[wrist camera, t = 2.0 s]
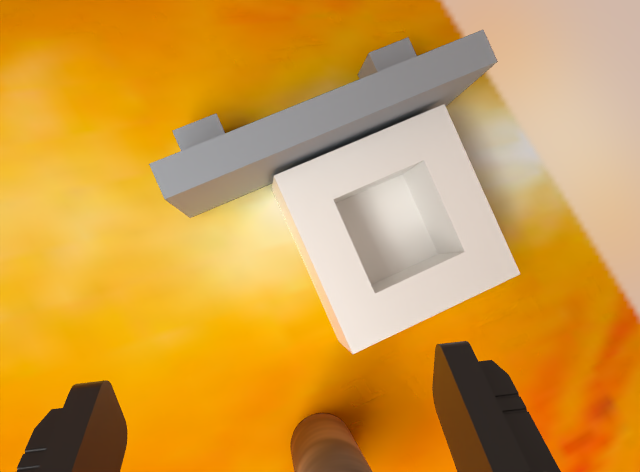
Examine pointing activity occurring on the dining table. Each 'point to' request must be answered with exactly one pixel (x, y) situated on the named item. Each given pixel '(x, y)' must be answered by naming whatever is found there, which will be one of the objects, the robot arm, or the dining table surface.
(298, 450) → the dowel
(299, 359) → the dining table surface
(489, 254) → the socket
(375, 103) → the backstop
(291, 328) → the dining table surface
